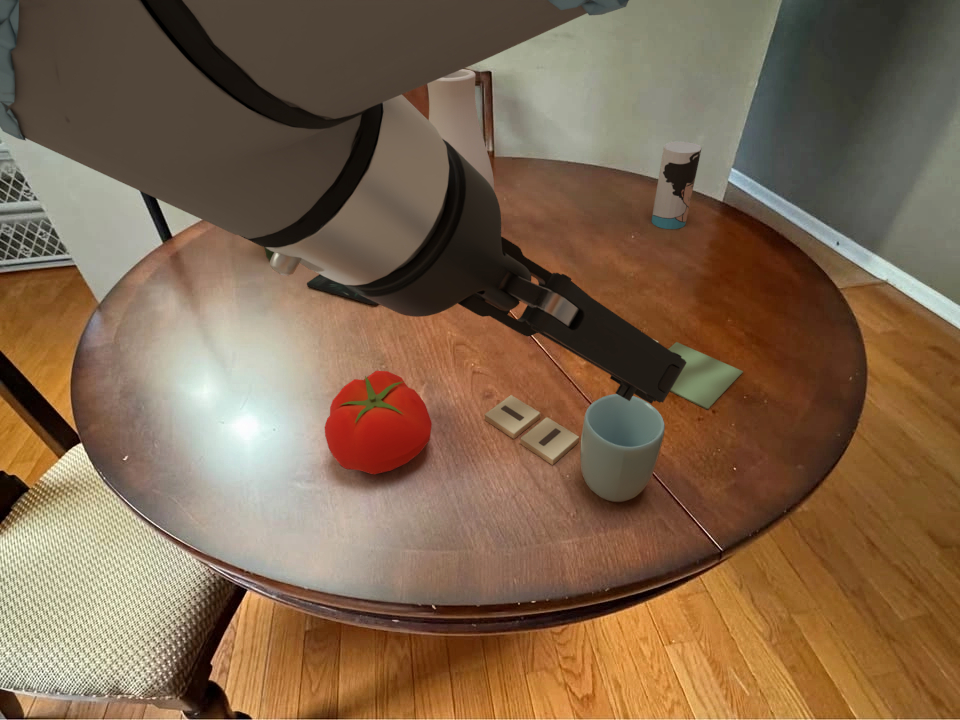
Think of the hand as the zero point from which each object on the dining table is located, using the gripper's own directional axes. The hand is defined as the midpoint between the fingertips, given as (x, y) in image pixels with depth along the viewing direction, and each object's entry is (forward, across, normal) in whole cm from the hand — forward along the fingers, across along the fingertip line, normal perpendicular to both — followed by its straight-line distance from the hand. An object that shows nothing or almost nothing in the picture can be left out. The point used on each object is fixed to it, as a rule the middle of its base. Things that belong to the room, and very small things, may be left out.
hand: (575, 341), depth 41 cm
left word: (+25, -12, -11) cm, 29 cm away
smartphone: (+28, -57, -8) cm, 64 cm away
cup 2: (+70, -31, +34) cm, 84 cm away
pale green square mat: (+41, -10, +5) cm, 42 cm away
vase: (+46, -56, +10) cm, 73 cm away
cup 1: (+25, 0, -11) cm, 27 cm away
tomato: (+15, -23, -21) cm, 34 cm away
